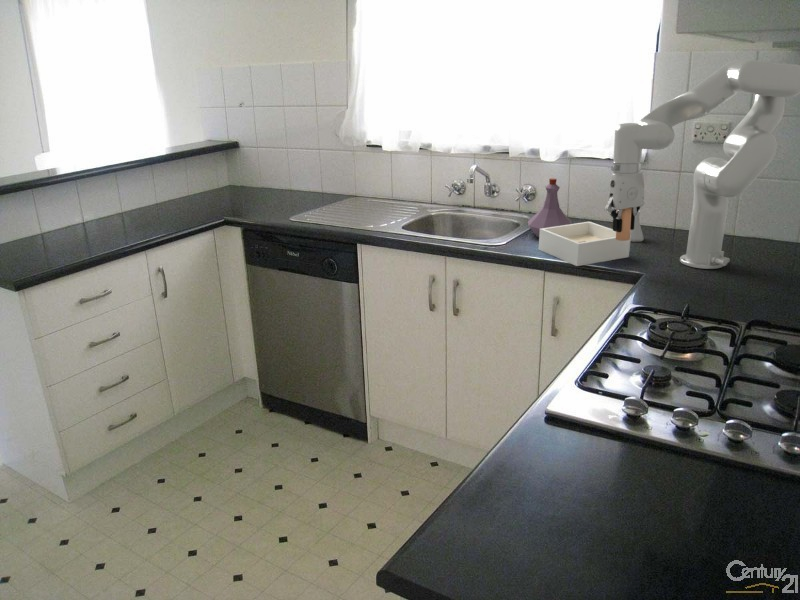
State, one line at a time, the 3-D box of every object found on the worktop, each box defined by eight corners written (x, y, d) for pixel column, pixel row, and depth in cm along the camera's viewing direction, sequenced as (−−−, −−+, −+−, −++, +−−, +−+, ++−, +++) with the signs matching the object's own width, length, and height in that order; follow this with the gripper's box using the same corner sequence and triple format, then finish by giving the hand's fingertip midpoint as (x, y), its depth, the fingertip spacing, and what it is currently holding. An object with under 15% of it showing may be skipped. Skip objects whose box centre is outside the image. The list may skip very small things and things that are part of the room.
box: (628, 257, 212) (630, 235, 210) (576, 266, 205) (578, 244, 202) (587, 241, 230) (589, 221, 227) (538, 249, 222) (539, 228, 220)
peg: (632, 239, 200) (634, 206, 196) (621, 241, 198) (623, 208, 194) (623, 236, 203) (625, 203, 199) (612, 238, 202) (614, 205, 198)
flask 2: (645, 242, 227) (648, 213, 223) (622, 242, 228) (625, 213, 225) (642, 237, 233) (645, 208, 230) (620, 236, 235) (623, 208, 231)
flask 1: (559, 228, 247) (562, 173, 240) (582, 239, 232) (587, 181, 225) (518, 232, 243) (520, 176, 235) (539, 244, 228) (542, 185, 221)
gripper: (612, 173, 187) (609, 237, 193) (659, 166, 193) (654, 228, 199) (594, 170, 193) (592, 231, 200) (640, 162, 199) (636, 223, 206)
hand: (623, 229), depth 199 cm, fingers closed on peg, 4 cm apart
